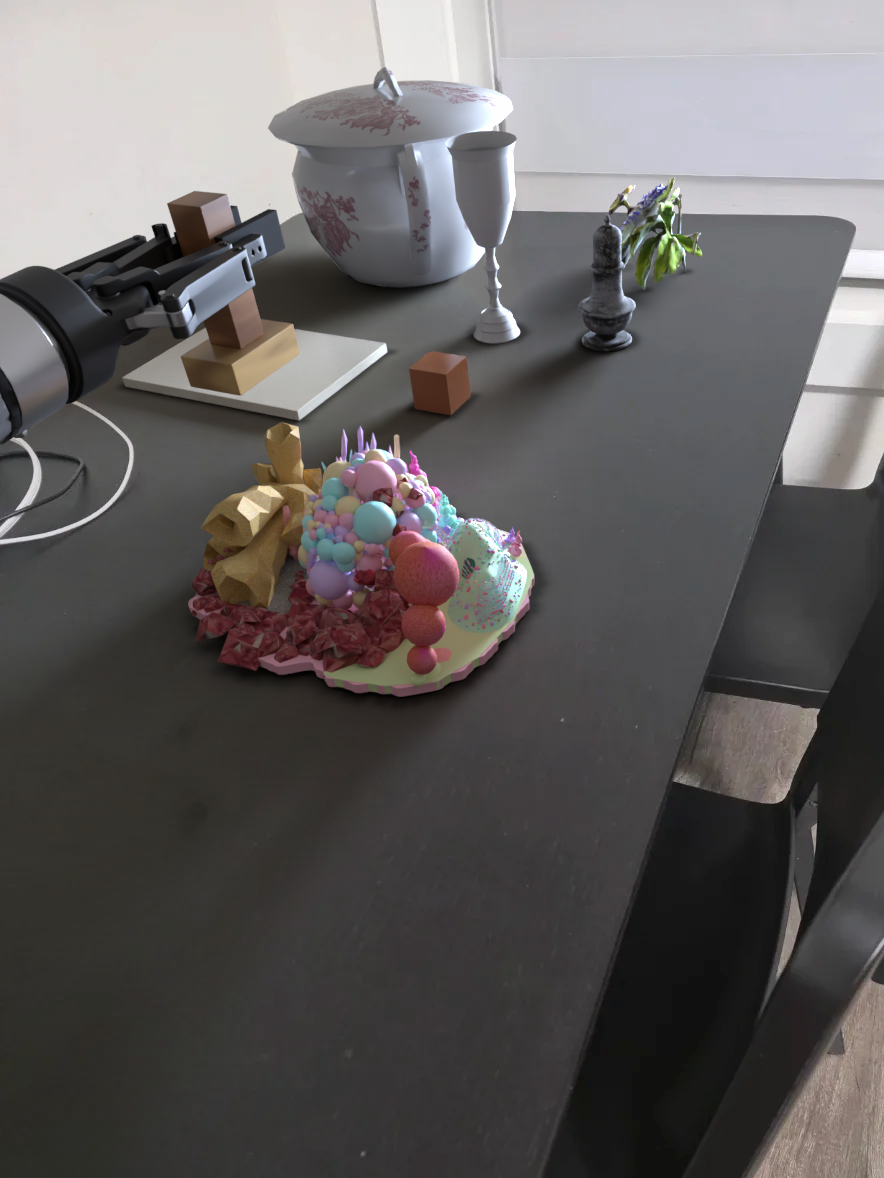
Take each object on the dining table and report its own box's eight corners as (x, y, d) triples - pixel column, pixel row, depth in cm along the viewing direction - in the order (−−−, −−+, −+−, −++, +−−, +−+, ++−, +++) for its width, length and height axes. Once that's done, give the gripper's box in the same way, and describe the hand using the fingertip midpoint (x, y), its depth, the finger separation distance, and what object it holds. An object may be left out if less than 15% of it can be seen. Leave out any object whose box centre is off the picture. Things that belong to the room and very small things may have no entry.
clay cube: (414, 409, 86) (408, 368, 83) (435, 390, 88) (429, 350, 85) (451, 415, 84) (445, 374, 82) (471, 397, 87) (466, 356, 84)
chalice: (465, 322, 100) (445, 133, 87) (526, 317, 100) (514, 128, 87) (466, 349, 94) (444, 153, 82) (530, 344, 95) (518, 148, 82)
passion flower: (622, 313, 113) (613, 211, 111) (709, 297, 110) (702, 192, 108) (605, 289, 102) (595, 175, 100) (702, 270, 99) (693, 152, 97)
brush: (190, 387, 71) (131, 213, 62) (252, 346, 76) (205, 179, 67) (240, 396, 69) (187, 219, 60) (300, 354, 74) (259, 184, 65)
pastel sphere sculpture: (138, 670, 61) (82, 558, 54) (278, 487, 77) (248, 382, 70) (493, 712, 56) (479, 595, 50) (564, 508, 72) (560, 399, 66)
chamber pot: (381, 223, 125) (352, 40, 110) (559, 243, 116) (552, 46, 101) (254, 297, 108) (199, 91, 93) (451, 327, 99) (424, 104, 84)
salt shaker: (573, 350, 93) (570, 224, 84) (585, 327, 97) (583, 204, 88) (629, 353, 92) (632, 225, 83) (639, 330, 96) (642, 205, 87)
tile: (125, 386, 92) (121, 377, 92) (224, 326, 102) (221, 317, 102) (299, 420, 85) (296, 411, 84) (387, 352, 95) (386, 342, 94)
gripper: (-37, 389, 60) (192, 267, 75) (147, 427, 55) (354, 288, 70) (-99, 272, 55) (160, 165, 69) (98, 301, 50) (333, 179, 64)
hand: (257, 226), depth 70 cm, fingers closed on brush, 3 cm apart
